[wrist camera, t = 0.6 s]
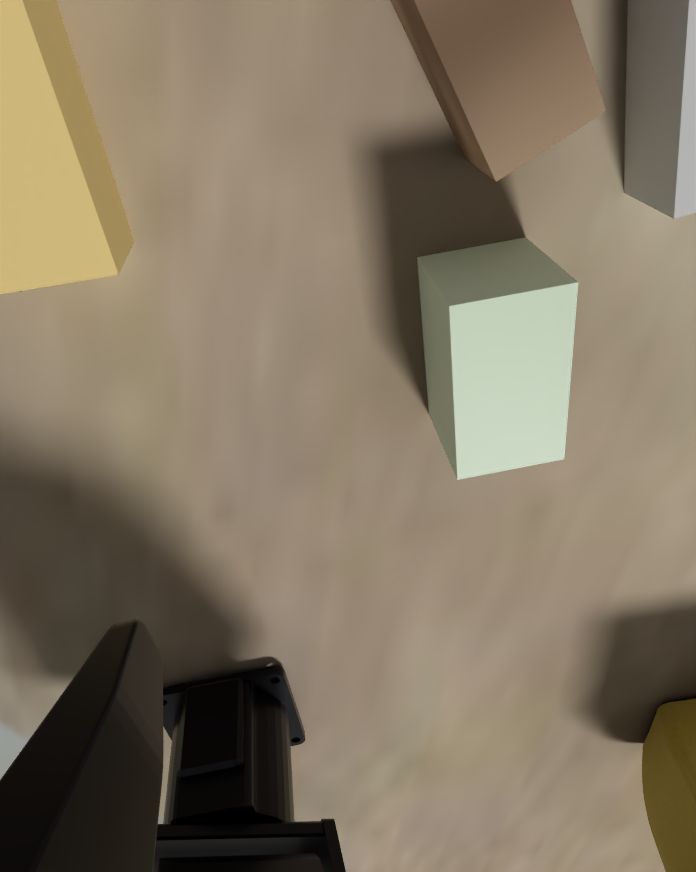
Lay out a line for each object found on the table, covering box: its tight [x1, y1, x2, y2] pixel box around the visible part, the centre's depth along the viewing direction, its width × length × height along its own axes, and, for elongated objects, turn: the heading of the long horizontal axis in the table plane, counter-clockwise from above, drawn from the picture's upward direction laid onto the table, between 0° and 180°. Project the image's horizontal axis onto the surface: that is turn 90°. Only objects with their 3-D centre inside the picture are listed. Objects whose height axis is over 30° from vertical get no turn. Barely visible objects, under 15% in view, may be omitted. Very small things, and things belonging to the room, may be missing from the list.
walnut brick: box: [391, 0, 606, 182], centre depth 15 cm, size 6×3×3 cm, turn 32°
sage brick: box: [417, 237, 578, 480], centre depth 20 cm, size 6×4×4 cm, turn 8°
